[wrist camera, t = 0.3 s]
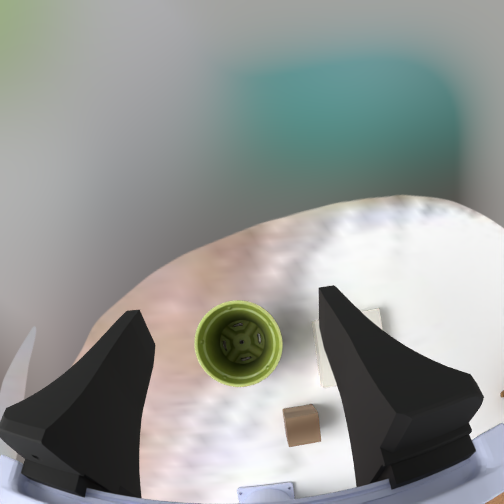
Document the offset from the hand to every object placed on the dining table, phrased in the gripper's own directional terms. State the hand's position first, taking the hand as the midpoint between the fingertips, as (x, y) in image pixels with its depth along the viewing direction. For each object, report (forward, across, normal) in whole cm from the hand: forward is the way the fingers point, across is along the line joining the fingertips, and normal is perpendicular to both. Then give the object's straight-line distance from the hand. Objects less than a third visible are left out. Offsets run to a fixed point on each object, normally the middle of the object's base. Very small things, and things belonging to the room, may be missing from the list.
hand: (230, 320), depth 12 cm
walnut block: (+12, -4, +30) cm, 33 cm away
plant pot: (+20, +3, +22) cm, 30 cm away
